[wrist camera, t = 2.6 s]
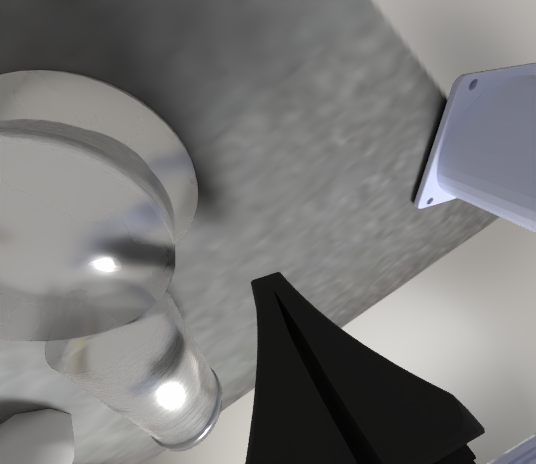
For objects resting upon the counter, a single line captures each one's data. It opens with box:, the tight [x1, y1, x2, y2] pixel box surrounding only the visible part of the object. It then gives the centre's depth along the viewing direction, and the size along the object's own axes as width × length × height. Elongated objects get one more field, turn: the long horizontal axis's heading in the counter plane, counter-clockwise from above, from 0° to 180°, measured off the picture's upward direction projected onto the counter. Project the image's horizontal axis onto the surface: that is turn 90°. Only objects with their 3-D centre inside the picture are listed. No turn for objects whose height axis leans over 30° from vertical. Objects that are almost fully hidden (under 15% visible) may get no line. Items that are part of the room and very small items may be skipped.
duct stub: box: [0, 70, 198, 244], centre depth 8 cm, size 9×8×4 cm
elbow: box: [0, 119, 223, 451], centre depth 9 cm, size 15×6×4 cm, turn 6°
